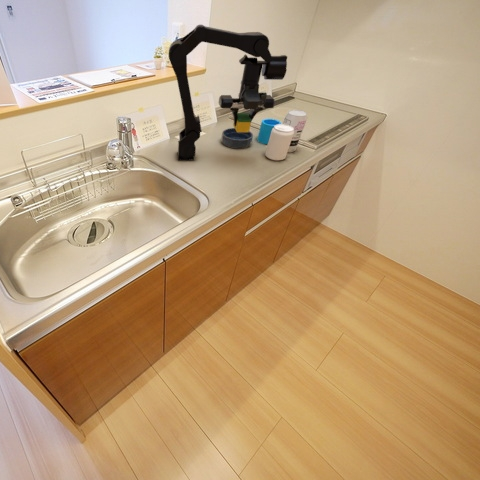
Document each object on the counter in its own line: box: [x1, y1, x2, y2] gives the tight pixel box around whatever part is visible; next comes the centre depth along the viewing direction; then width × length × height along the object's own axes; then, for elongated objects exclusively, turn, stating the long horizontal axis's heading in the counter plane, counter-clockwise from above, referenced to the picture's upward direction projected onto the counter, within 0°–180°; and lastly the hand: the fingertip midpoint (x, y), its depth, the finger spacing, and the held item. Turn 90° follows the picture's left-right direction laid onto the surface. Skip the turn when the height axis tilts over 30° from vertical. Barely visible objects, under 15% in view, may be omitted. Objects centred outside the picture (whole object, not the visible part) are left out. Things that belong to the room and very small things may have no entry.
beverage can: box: [264, 123, 294, 161], centre depth 109 cm, size 8×8×12 cm
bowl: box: [220, 127, 254, 150], centre depth 121 cm, size 13×13×4 cm
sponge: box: [232, 112, 253, 132], centre depth 102 cm, size 7×4×4 cm, turn 0°
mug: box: [256, 118, 282, 145], centre depth 122 cm, size 12×8×8 cm
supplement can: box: [282, 109, 308, 154], centre depth 113 cm, size 8×8×15 cm
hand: (241, 125), depth 103 cm, fingers closed on sponge, 4 cm apart
